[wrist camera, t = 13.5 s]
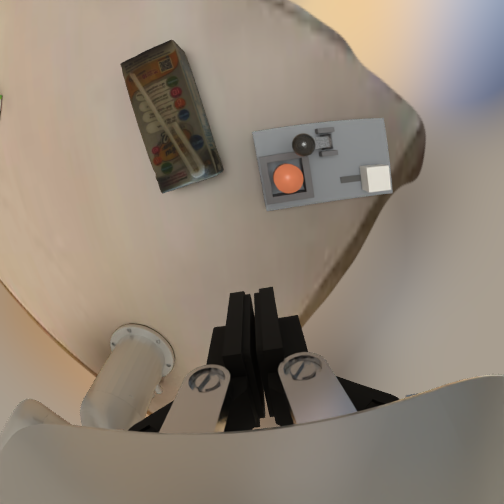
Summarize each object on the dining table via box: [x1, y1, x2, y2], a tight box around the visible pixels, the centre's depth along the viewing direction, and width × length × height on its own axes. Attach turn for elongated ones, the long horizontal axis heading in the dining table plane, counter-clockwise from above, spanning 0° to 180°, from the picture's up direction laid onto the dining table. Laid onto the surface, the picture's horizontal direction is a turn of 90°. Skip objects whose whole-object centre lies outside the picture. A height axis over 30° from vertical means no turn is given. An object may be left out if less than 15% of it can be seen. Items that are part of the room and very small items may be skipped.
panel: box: [252, 118, 392, 211], centre depth 35 cm, size 10×17×6 cm, turn 100°
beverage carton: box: [121, 40, 223, 193], centre depth 33 cm, size 8×19×7 cm, turn 17°
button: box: [273, 163, 303, 193], centre depth 32 cm, size 3×3×3 cm
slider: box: [360, 164, 391, 192], centre depth 33 cm, size 3×3×2 cm
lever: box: [292, 133, 334, 157], centre depth 29 cm, size 2×2×10 cm
